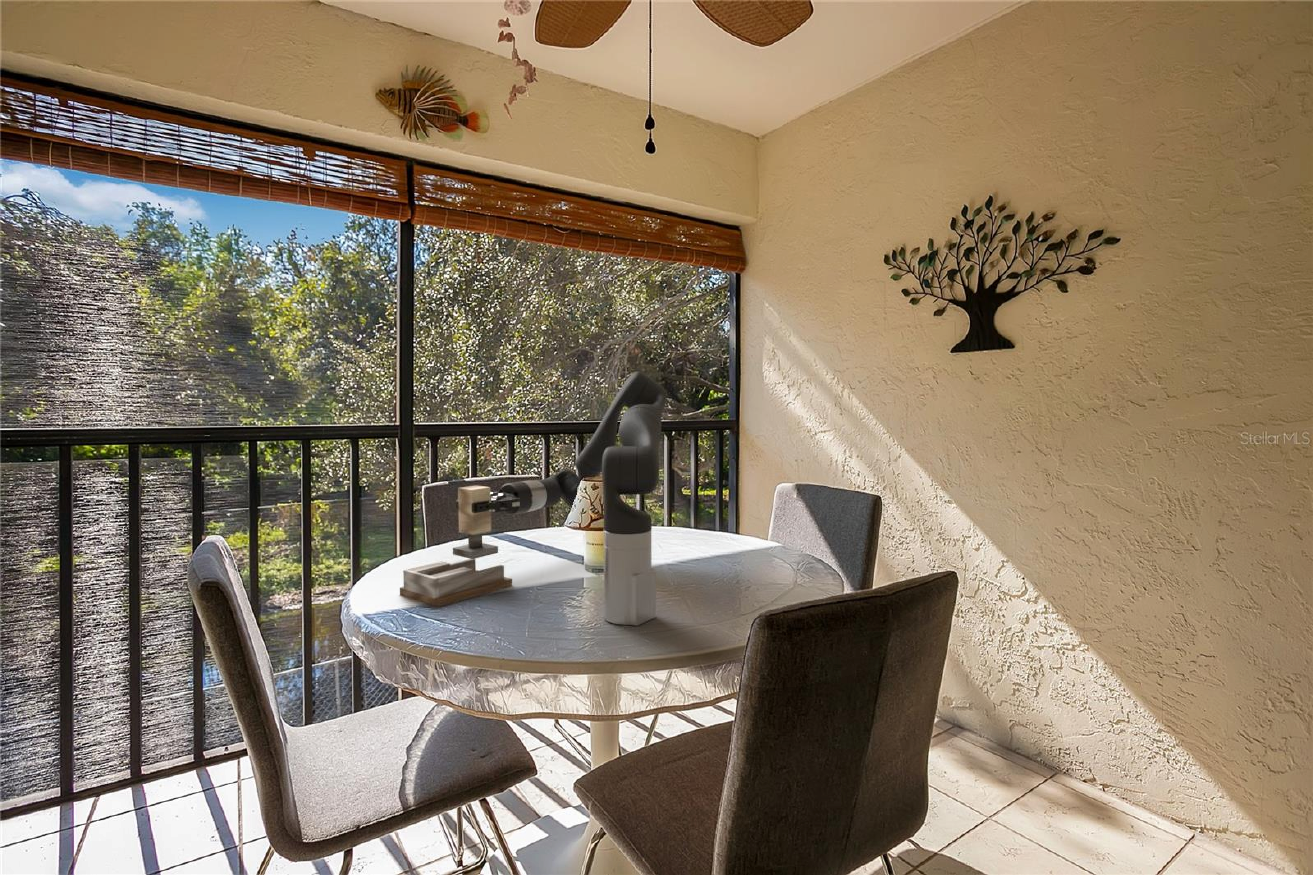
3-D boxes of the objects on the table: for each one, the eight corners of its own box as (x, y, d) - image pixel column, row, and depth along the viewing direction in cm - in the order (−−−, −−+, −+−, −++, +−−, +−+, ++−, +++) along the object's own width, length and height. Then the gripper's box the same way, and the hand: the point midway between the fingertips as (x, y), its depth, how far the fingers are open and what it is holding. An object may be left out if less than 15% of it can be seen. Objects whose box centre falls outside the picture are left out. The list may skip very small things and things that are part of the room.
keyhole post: (498, 552, 151) (496, 487, 150) (472, 559, 145) (471, 491, 144) (478, 548, 155) (476, 484, 154) (452, 554, 149) (451, 488, 148)
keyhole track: (512, 585, 150) (511, 561, 149) (439, 607, 134) (438, 580, 134) (472, 575, 158) (472, 552, 158) (399, 594, 143) (399, 569, 142)
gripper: (503, 479, 165) (444, 487, 151) (543, 484, 156) (485, 493, 142) (503, 509, 165) (445, 519, 151) (544, 515, 157) (485, 527, 143)
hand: (465, 506), depth 147 cm, fingers closed on keyhole post, 5 cm apart
